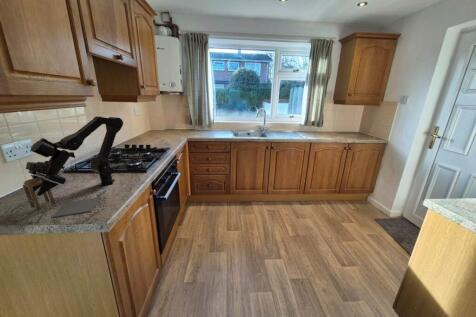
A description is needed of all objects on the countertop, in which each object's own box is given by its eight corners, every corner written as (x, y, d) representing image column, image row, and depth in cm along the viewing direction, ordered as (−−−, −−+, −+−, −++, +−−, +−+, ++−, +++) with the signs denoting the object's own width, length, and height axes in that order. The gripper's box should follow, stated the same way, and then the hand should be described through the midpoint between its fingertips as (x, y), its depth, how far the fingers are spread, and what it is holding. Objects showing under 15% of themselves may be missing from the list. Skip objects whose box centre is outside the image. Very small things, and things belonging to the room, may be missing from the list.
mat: (65, 203, 96) (65, 202, 96) (99, 198, 100) (99, 197, 100) (52, 217, 85) (52, 216, 85) (91, 211, 89) (91, 210, 89)
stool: (48, 200, 95) (39, 176, 91) (55, 203, 93) (47, 178, 89) (30, 207, 90) (20, 182, 86) (38, 211, 87) (27, 184, 83)
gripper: (26, 151, 91) (1, 183, 85) (48, 156, 83) (22, 192, 77) (53, 162, 100) (32, 191, 94) (75, 167, 92) (53, 200, 87)
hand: (34, 194), depth 88 cm, fingers closed on stool, 6 cm apart
